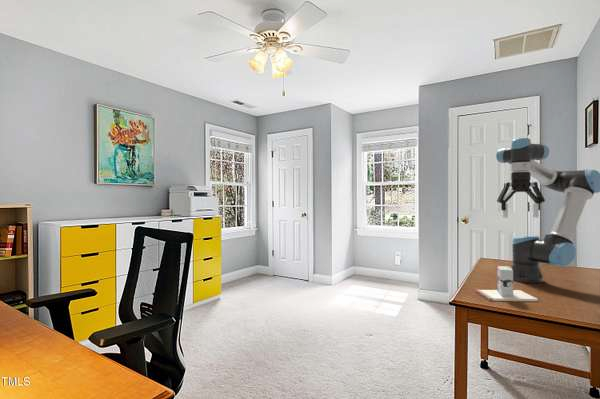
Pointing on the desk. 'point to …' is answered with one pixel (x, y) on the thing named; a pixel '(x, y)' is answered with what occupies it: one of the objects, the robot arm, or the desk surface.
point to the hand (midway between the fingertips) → (520, 217)
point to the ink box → (505, 281)
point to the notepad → (495, 296)
